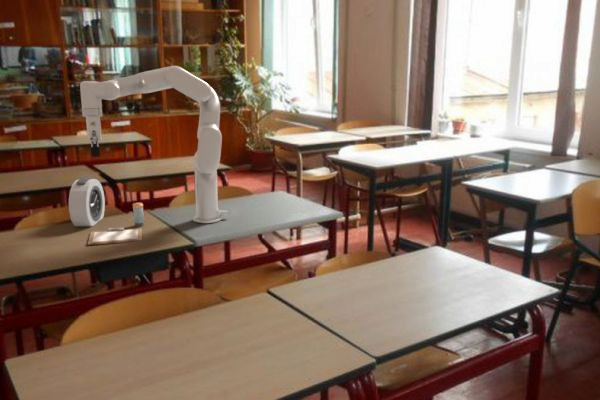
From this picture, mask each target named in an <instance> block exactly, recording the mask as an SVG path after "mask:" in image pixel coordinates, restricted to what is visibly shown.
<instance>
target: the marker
mask: <svg viewBox="0 0 600 400" xmlns="http://www.w3.org/2000/svg"><path fill="white" fill-rule="evenodd" d="M132 209H133V223H134V227H136V228H141V227H143V226H144V223H145V219H144V204H143V202H133V203H132Z"/></svg>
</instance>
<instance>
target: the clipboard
mask: <svg viewBox="0 0 600 400" xmlns="http://www.w3.org/2000/svg"><path fill="white" fill-rule="evenodd" d="M142 230H143V229H142V228H141V227H138V228H126V229H125V226H122V227H120V226H119V227H108V230H94V231H90V234H89V238H88V242H87V245H88V246H91V245H92V246H93V245H107V244H109V245H110V244H118V243H119V244H120V243H133V242H134V243H135V242H142V241H143V237H142V235H143V231H142Z"/></svg>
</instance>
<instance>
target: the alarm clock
mask: <svg viewBox="0 0 600 400" xmlns="http://www.w3.org/2000/svg"><path fill="white" fill-rule="evenodd" d="M68 196H69V197H68V210H69V217H70V220H71V223H72V224H73V226H74V227H77V228H78V227H80V228H81V227H94V226H95V225H96V224H98V223H99V221H101V220H102V219H103V218H104V216H105V208H106V206H105V205H106V198H105V192H104V188H103V186H102V184H101V182H100V180H99V179H96V178H93V177H92V176H83V177H80V178H79V179H76V180H75V181H74V182H73V183H72V184H71V187H70V189H69V194H68Z"/></svg>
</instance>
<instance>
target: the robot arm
mask: <svg viewBox="0 0 600 400" xmlns="http://www.w3.org/2000/svg"><path fill="white" fill-rule="evenodd" d="M79 85H80V86H79V87H80V89H79V90H80V101H81V112H82V113H81V115H82V117H83V118H85V123H86V132H87V137H88V141H89V142H90V154H91V155H90V156H91V157H92V158H99V157H100V156H101V154H100V153H101V152H100V151H101V149H100V144H99V142H102V139H103V138H102V137H103V136H102V126H101V125H102V123H101V118H100V117H103V104H102V100H106V101H113V100H114V101H115V100H116V99H118V98H121V97H126V96H131V95H137V94H150V93H155V92H159V91H163V90H168V89H175V90H176V91H178V92H180V93H181V94H184V95H185V96H186V97H188V98H190V99H192V100H194V101H196V102H198V105H199V118H198V127H197V131H196V132H197V133H196V135H197V136H196V138H197V139H198V143H197V151H196V152H195V154H194V156H193V167H194V169H193V170H194V187H195V188H194V189H195V191H194V192H195V215H194V216H193V217H192V221H193V222H194V223H199V224H213V223H218V222H221V220H222V219H223V216H229V215H230V212H229V210H226V209H222V210H221V209H220V208H219V198H218V194H219V193H218V171H217V170H218V169H219V166H220V162H221V153H222V143H223V142H222V141H223V135H222V132H221V130H220V122H221V121H220V119H221V103H220V99H219V96H218V94H217V92H216V91H215V89H213V87H212V86H211V85H210V84H209V83H207V82H206V81H204V80H203V79H201V78H199V77H198V76H195V75H194V74H192V73H191V72H189V71H188V70H186V69H184V67H181V66H178V65H171V66H166V67H165V66H164V67H161V68H156V69H151V70H146V71H142V72H138V73H135V74H133V75H127V76H123V77H119V78H113V79H108V80H106V81H96V80H84V81H81V82H80V84H79Z"/></svg>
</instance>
